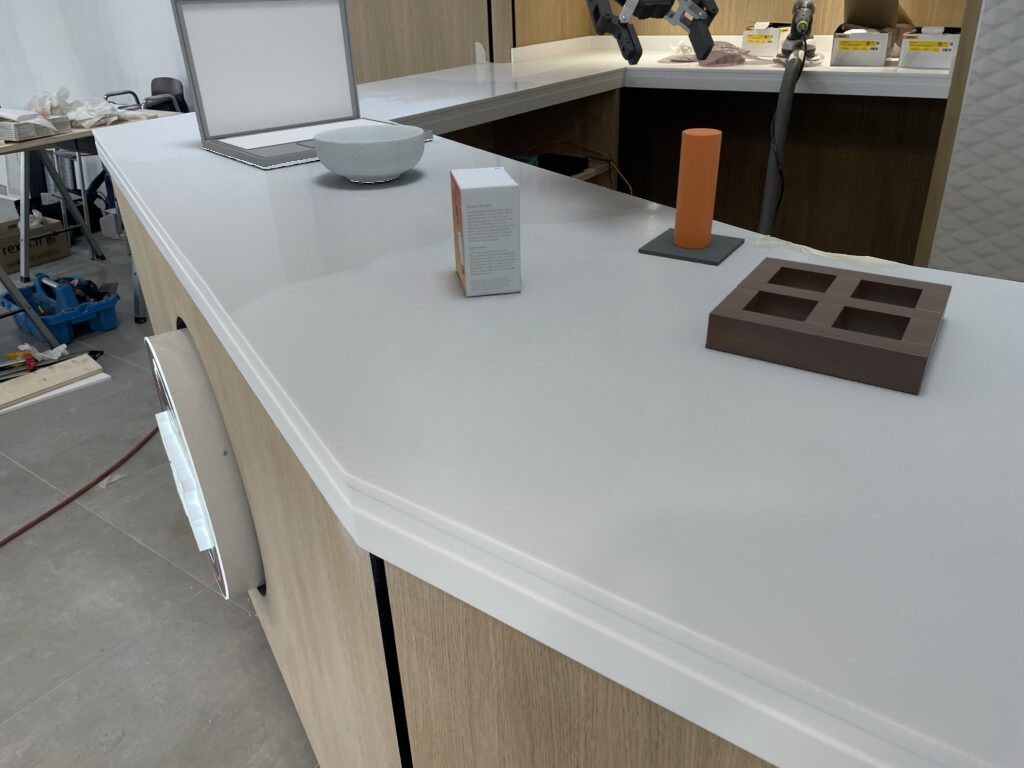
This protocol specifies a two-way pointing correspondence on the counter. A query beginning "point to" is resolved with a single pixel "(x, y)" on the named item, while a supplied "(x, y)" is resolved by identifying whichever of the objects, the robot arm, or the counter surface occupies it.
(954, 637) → the counter surface
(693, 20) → the robot arm
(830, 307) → the peg board
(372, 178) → the cereal bowl
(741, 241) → the mat
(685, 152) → the peg
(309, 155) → the laptop
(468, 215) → the small box
